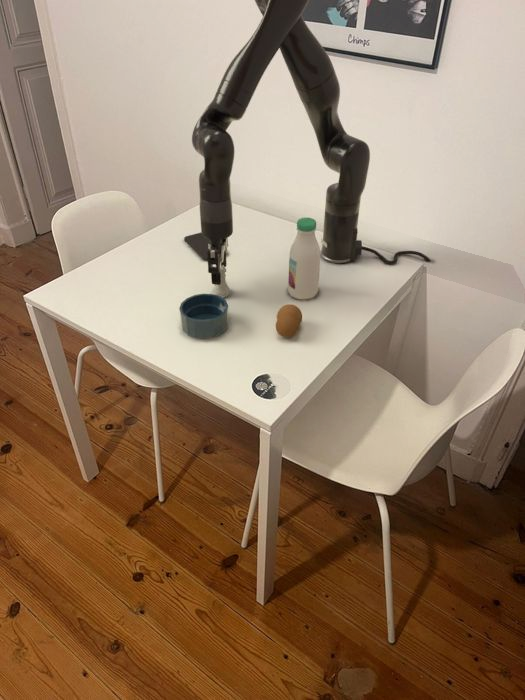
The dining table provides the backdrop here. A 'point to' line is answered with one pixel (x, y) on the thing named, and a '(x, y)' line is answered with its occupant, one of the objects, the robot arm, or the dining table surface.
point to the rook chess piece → (222, 285)
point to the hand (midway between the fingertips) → (219, 275)
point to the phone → (198, 244)
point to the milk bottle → (304, 261)
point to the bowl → (204, 315)
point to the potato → (288, 320)
